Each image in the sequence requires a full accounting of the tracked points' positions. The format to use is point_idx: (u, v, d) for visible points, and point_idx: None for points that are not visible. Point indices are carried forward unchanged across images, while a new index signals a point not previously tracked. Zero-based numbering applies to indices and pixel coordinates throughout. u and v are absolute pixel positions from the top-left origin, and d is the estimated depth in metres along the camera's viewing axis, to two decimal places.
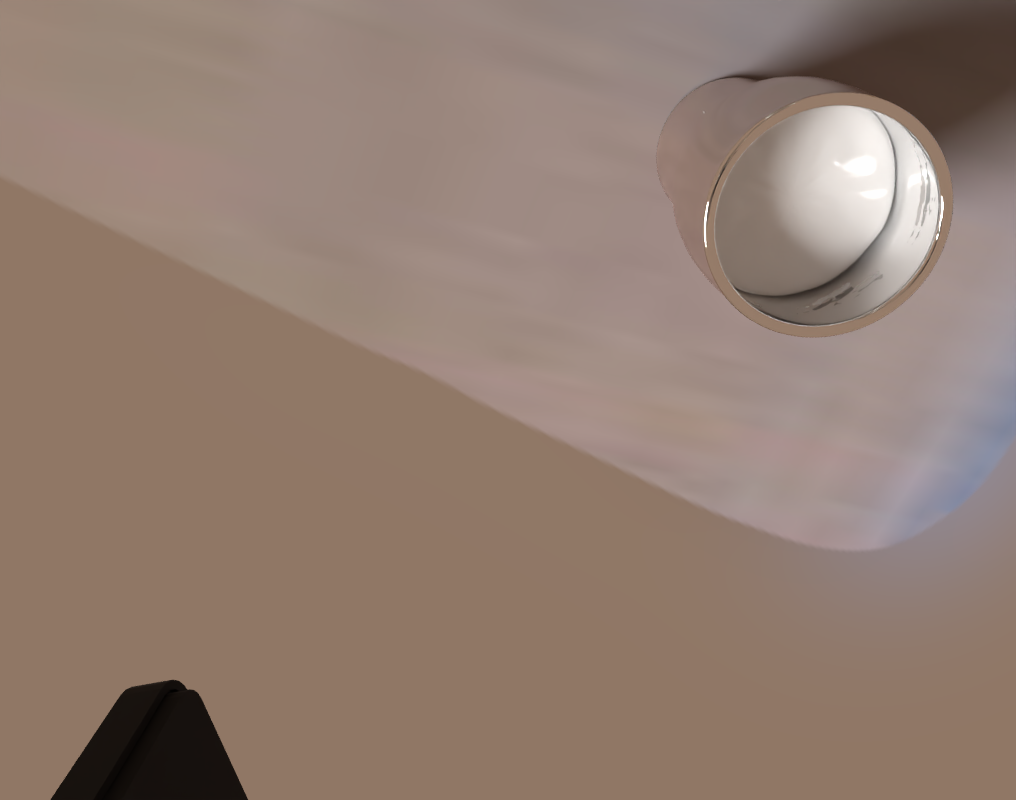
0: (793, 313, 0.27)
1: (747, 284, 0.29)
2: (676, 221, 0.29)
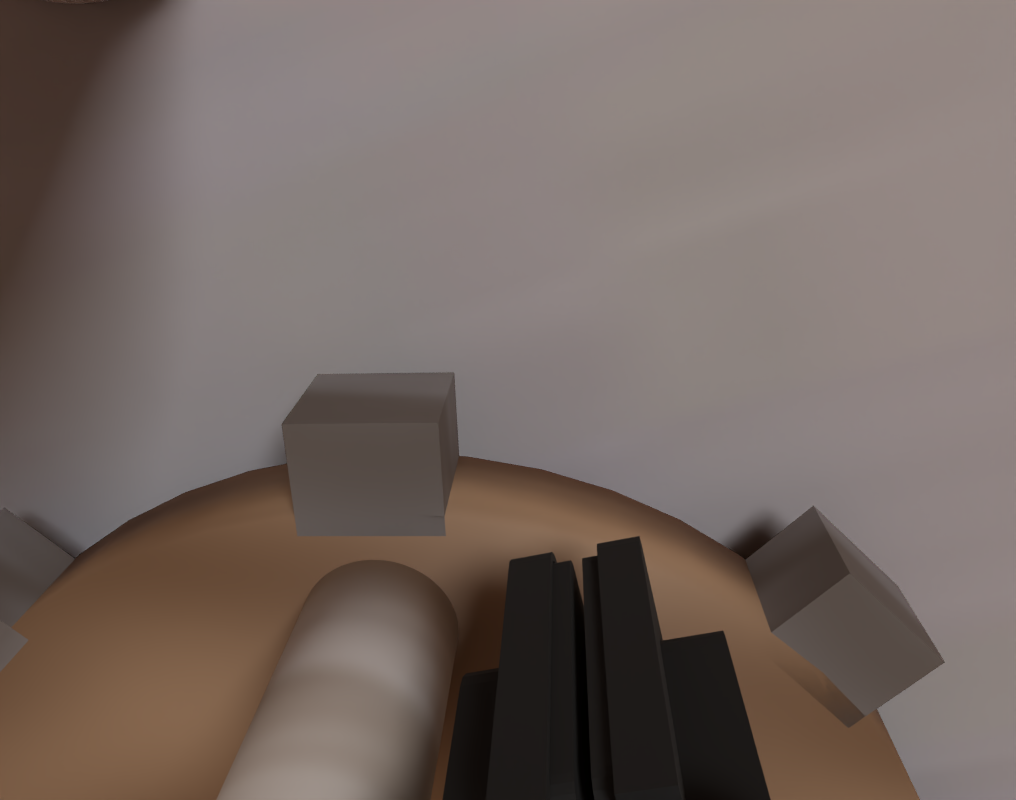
0: None
1: None
2: None
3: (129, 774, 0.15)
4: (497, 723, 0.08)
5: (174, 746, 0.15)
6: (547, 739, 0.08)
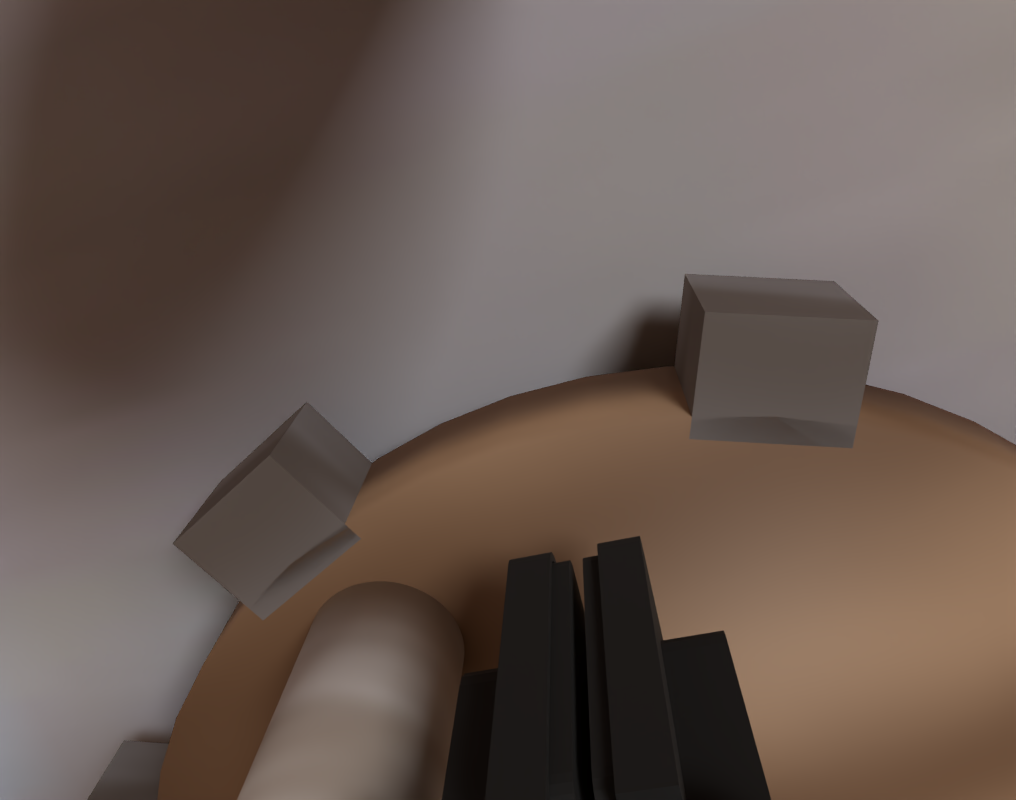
0: None
1: None
2: None
3: None
4: (496, 723, 0.08)
5: None
6: (546, 739, 0.08)
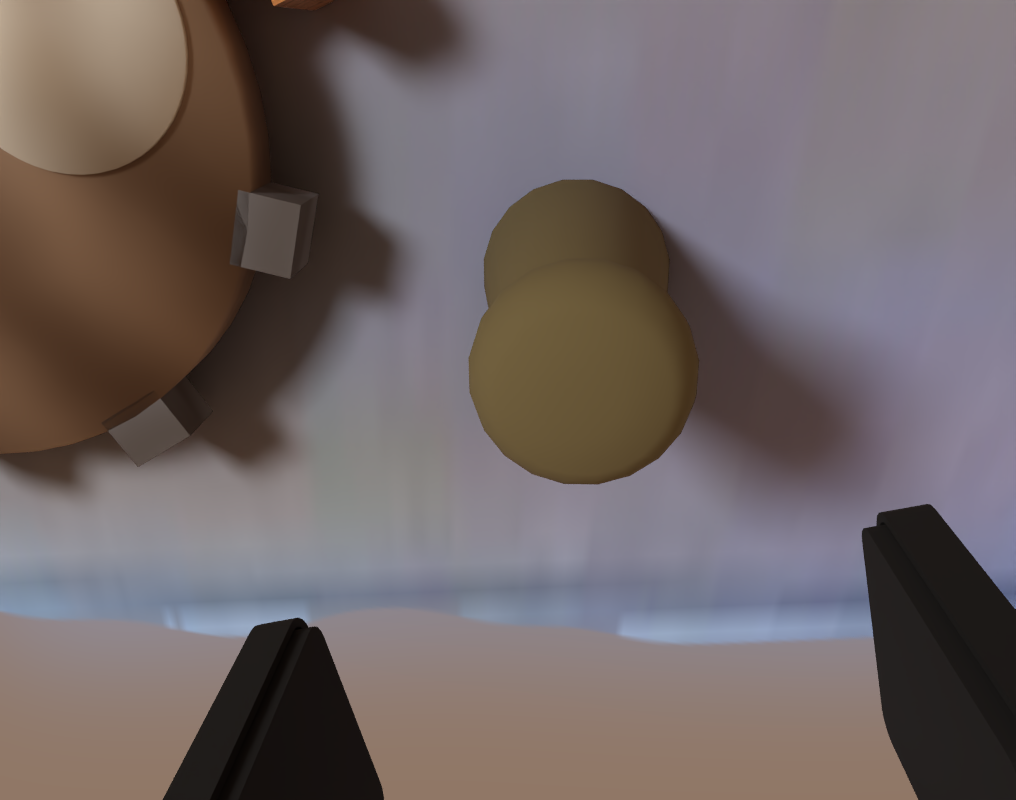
0: None
1: None
2: None
3: None
4: None
5: None
6: None
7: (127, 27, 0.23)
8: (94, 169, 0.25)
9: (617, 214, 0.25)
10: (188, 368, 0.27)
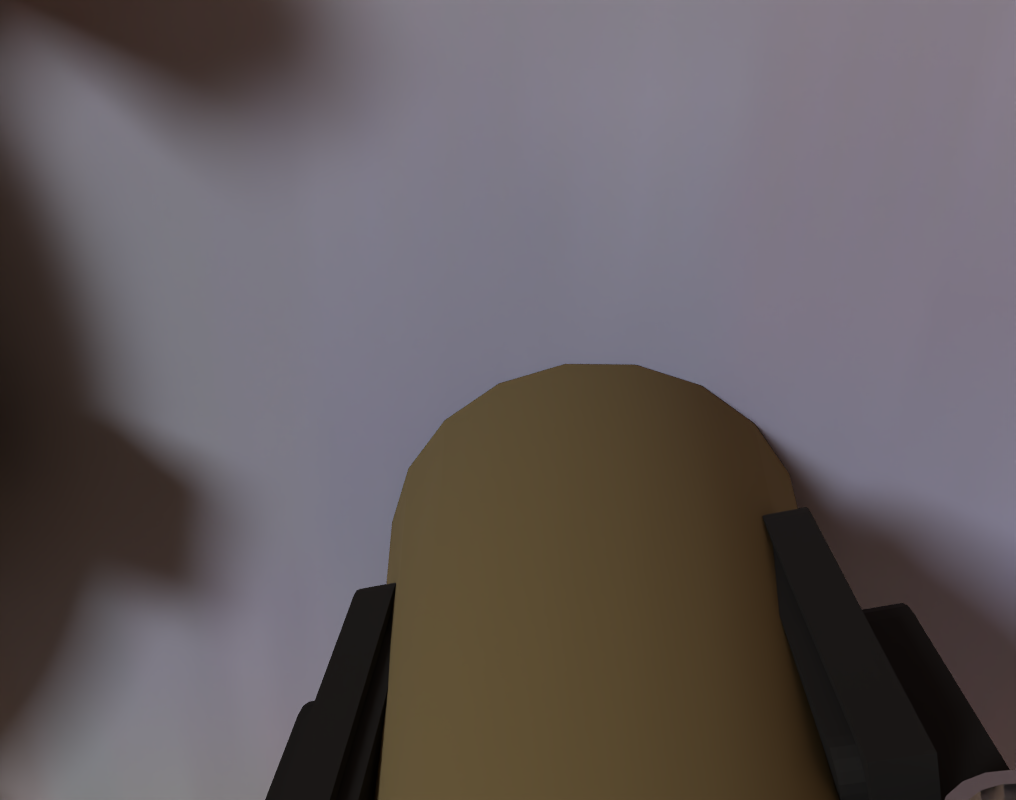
0: None
1: None
2: None
3: None
4: (298, 758, 0.08)
5: None
6: (338, 774, 0.08)
7: None
8: None
9: (710, 505, 0.10)
10: None
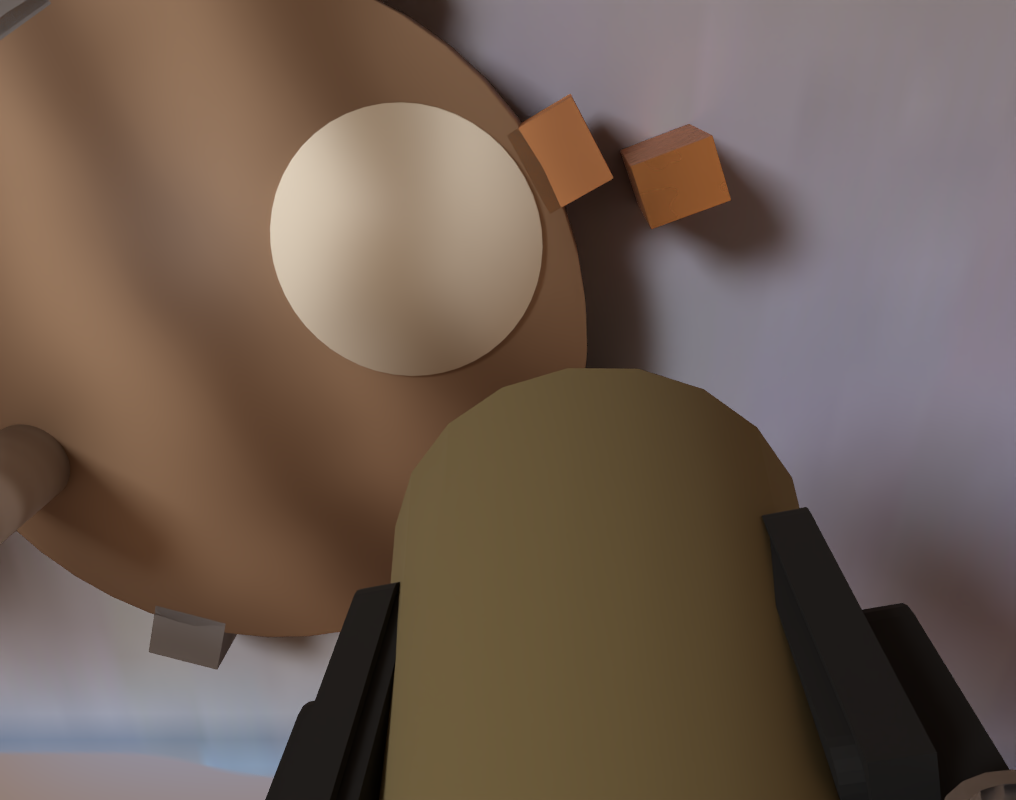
0: None
1: None
2: None
3: (205, 541, 0.26)
4: (298, 757, 0.08)
5: (170, 526, 0.26)
6: (337, 773, 0.08)
7: (485, 237, 0.23)
8: (423, 371, 0.24)
9: (715, 509, 0.10)
10: None
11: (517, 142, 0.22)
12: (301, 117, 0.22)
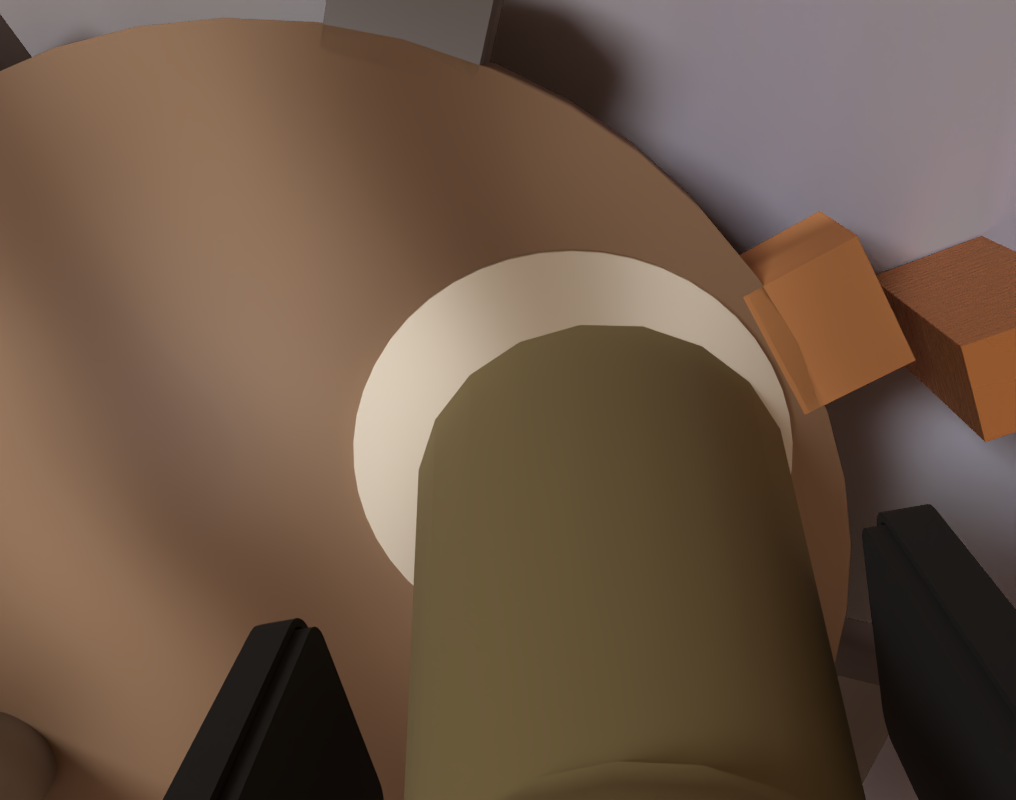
0: None
1: None
2: None
3: None
4: None
5: None
6: None
7: None
8: None
9: (710, 441, 0.11)
10: None
11: (759, 308, 0.13)
12: (404, 276, 0.13)
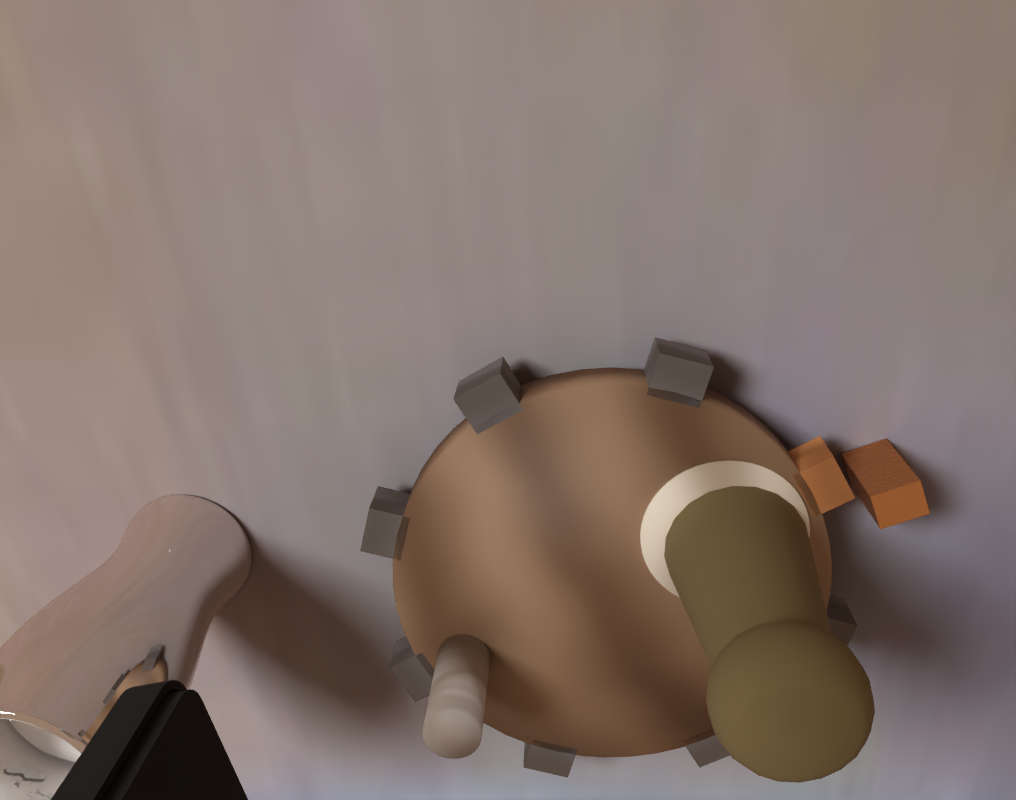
0: None
1: None
2: None
3: (571, 700, 0.41)
4: None
5: (549, 692, 0.41)
6: None
7: None
8: None
9: (785, 535, 0.34)
10: None
11: (798, 479, 0.36)
12: (667, 467, 0.36)
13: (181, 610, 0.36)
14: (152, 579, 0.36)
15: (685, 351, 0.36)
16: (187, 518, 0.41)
